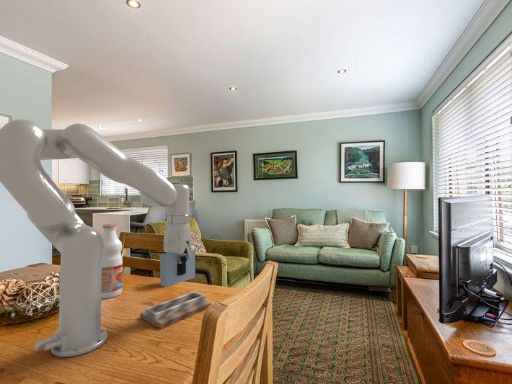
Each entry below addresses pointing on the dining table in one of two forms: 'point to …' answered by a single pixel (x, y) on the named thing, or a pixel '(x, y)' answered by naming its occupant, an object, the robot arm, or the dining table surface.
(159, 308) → the track plinth
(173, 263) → the plain gray rectangular block
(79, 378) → the dining table surface
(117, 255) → the fruit juice
